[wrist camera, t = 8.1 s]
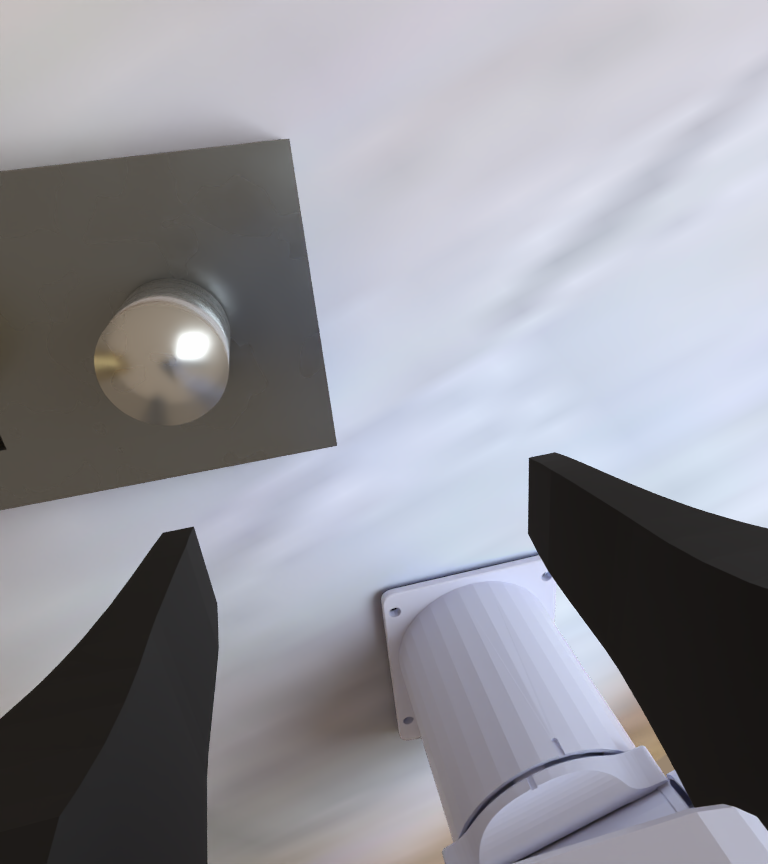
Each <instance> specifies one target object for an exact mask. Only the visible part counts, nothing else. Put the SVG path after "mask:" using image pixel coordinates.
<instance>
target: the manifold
mask: <svg viewBox="0 0 768 864" xmlns="http://www.w3.org/2000/svg"><path fill="white" fill-rule="evenodd" d="M333 446H337V442H336V436H335V429H334V423H333V417H332V410H331V404H330V397H329V391H328V384H327V378H326V372H325V365H324V359H323V352H322V346H321V339H320V333H319V327H318V320H317V314H316V307H315V301H314V295H313V288H312V282H311V275H310V269H309V262H308V256H307V250H306V243H305V237H304V230H303V224H302V218H301V211H300V205H299V198H298V192H297V185H296V179H295V173H294V166H293V160H292V153H291V147H290V141H289V139H281V140H272V141H263V142H255V143H246V144H237V145H228V146H219V147H211V148H202V149H193V150H184V151H176V152H167V153H158V154H149V155H140V156H132V157H123V158H114V159H105V160H96V161H88V162H79V163H70V164H61V165H52V166H44V167H35V168H26V169H17V170H9V171H0V510H4V509H9V508H15V507H20V506H25V505H30V504H35V503H41V502H46V501H51V500H56V499H61V498H67V497H72V496H77V495H82V494H88V493H93V492H98V491H103V490H108V489H114V488H119V487H124V486H129V485H135V484H140V483H145V482H150V481H155V480H161V479H166V478H171V477H176V476H181V475H187V474H192V473H197V472H202V471H208V470H213V469H218V468H223V467H228V466H234V465H239V464H244V463H249V462H254V461H260V460H265V459H270V458H275V457H281V456H286V455H291V454H296V453H301V452H307V451H312V450H317V449H322V448H327V447H333Z"/></svg>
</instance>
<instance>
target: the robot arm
mask: <svg viewBox="0 0 768 864" xmlns="http://www.w3.org/2000/svg"><path fill="white" fill-rule="evenodd" d="M528 534H529V536H530V538H531V540H532V542H533V544H534V546H535V548H536V550H537V552H538V554H539V555H538V556H533V557H529V558H525V559H520V560H516V561H512V562H507V563H503V564H499V565H494V566H490V567H486V568H481V569H477V570H473V571H468V572H464V573H460V574H455V575H451V576H447V577H442V578H438V579H434V580H429V581H425V582H421V583H416V584H412V585H408V586H403V587H399V588H395V589H391V590H388V591H386V592H385V593H384V594H383V595H382V597H381V605H382V613H383V620H384V627H385V635H386V642H387V649H388V657H389V664H390V672H391V679H392V686H393V694H394V701H395V708H396V716H397V723H398V730H399V734H400V737H401V738H402V739H403V740H413V739H416V738H420V737H421V738H422V741H423V744H424V747H425V751H426V754H427V757H428V761H429V764H430V767H431V770H432V774H433V777H434V780H435V783H436V787H437V790H438V793H439V797H440V800H441V803H442V806H443V810H444V813H445V816H446V819H447V823H448V826H449V829H450V833H451V836H452V839H453V842H454V843H452V844H451V845H449V846H447V847H446V848H444V849H443V851H442V854H443V858H444V861H445V864H768V528H763V527H759V526H755V525H751V524H747V523H743V522H740V521H736V520H733V519H729V518H726V517H722V516H719V515H715V514H712V513H709V512H705V511H702V510H699V509H696V508H693V507H690V506H687V505H684V504H682V503H679V502H676V501H673V500H671V499H668V498H665V497H662V496H660V495H657V494H655V493H652V492H650V491H647V490H645V489H642V488H640V487H637V486H635V485H632V484H630V483H628V482H625V481H623V480H621V479H618V478H616V477H614V476H611V475H609V474H607V473H604V472H602V471H600V470H597V469H595V468H593V467H591V466H588V465H586V464H584V463H581V462H579V461H577V460H574V459H572V458H569V457H567V456H564V455H561V454H558V453H550V454H545V455H540V456H535V457H531V458H529V502H528ZM546 572H547V573H546ZM544 573H546V574H545V575H543V574H544ZM542 575H543V576H542ZM556 583H557V584H558V586H559V587H560V589H561V590H562V591H563V593H564V594H565V595H566V597H567V598H568V600H569V601H570V602H571V604H572V605H573V606H574V608H575V609H576V610H577V612H578V613H579V615H580V616H581V617H582V619H583V620H584V621H585V623H586V624H587V625H588V627H589V628H590V629H591V631H592V632H593V634H594V635H595V636H596V638H597V639H598V640H599V642H600V643H601V644H602V646H603V647H604V648H605V650H606V651H607V653H608V654H609V656H610V657H611V659H612V660H613V662H614V663H615V665H616V666H617V668H618V669H619V671H620V673H621V674H622V676H623V678H624V679H625V681H626V683H627V685H628V686H629V688H630V690H631V691H632V693H633V695H634V697H635V698H636V700H637V702H638V703H639V705H640V707H641V708H642V710H643V712H644V714H645V716H646V717H647V719H648V721H649V723H650V725H651V727H652V728H653V730H654V732H655V734H656V736H657V737H658V739H659V741H660V743H661V745H662V746H663V748H664V750H665V752H666V754H667V756H668V757H669V759H670V761H671V763H672V765H673V767H674V769H675V770H673V771H671V772H670V773H668V774H666V775H667V778H668V780H667V778H666V777H665V775H664V774H663V772H662V771H661V769H660V768H659V766H658V765H657V763H656V762H655V760H654V759H653V757H652V756H651V754H650V753H649V751H648V750H647V748H646V747H645V746H639V747H637V748H636V747H635V745H634V744H633V742H632V741H631V739H630V738H629V736H628V734H627V733H626V731H625V730H624V728H623V727H622V725H621V724H620V722H619V721H618V719H617V718H616V716H615V715H614V713H613V712H612V710H611V709H610V707H609V705H608V704H607V702H606V701H605V699H604V698H603V696H602V695H601V693H600V692H599V690H598V689H597V687H596V686H595V684H594V683H593V681H592V679H591V678H590V676H589V675H588V673H587V672H586V670H585V669H584V667H583V666H582V664H581V663H580V661H579V660H578V658H577V657H576V655H575V654H574V652H573V650H572V649H571V647H570V646H569V644H568V643H567V641H566V640H565V638H564V637H563V635H562V634H561V632H560V631H559V629H558V628H557V626H556V625H555V603H556ZM393 608H397V609H396V610H394V611H390V610H391V609H393ZM218 649H219V645H218V613H217V602H216V598H215V595H214V592H213V588H212V585H211V582H210V579H209V575H208V572H207V569H206V565H205V562H204V559H203V556H202V552H201V549H200V546H199V542H198V539H197V536H196V533H195V529H194V527H189V528H185V529H180V530H175V531H170V532H165V533H162V535H161V536H160V538H159V539H158V540H157V542H156V543H155V544H154V546H153V547H152V548H151V550H150V551H149V553H148V554H147V555H146V557H145V558H144V560H143V561H142V563H141V564H140V565H139V567H138V568H137V570H136V571H135V572H134V574H133V575H132V577H131V578H130V579H129V581H128V582H127V583H126V585H125V586H124V587H123V589H122V590H121V591H120V593H119V594H118V595H117V597H116V598H115V600H114V601H113V602H112V604H111V605H110V606H109V607H108V609H107V610H106V611H105V612H104V613H103V615H102V616H101V617H100V618H99V619H98V621H97V622H96V623H95V624H94V626H93V627H92V628H91V629H90V630H89V632H88V633H87V634H86V635H85V636H84V638H83V639H82V640H81V641H80V642H79V643H78V644H77V645H76V647H75V648H74V649H73V650H72V651H71V652H70V653H69V654H68V655H67V656H66V657H65V658H64V659H63V660H62V662H61V663H60V664H59V665H58V666H57V667H56V668H55V669H54V670H53V671H52V672H51V673H50V674H49V675H48V676H47V677H46V678H45V679H44V680H43V681H42V682H41V683H40V684H39V685H38V686H36V687H35V688H34V689H33V690H32V691H31V692H30V693H29V694H28V695H27V696H25V697H24V698H23V699H22V700H21V701H20V702H19V703H18V704H17V705H15V706H14V707H13V708H12V709H11V710H10V711H9V712H8V713H6V714H5V715H4V716H3V717H2V718H1V719H0V864H207V767H208V751H209V741H210V731H211V721H212V712H213V702H214V692H215V682H216V671H217V661H218Z"/></svg>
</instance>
